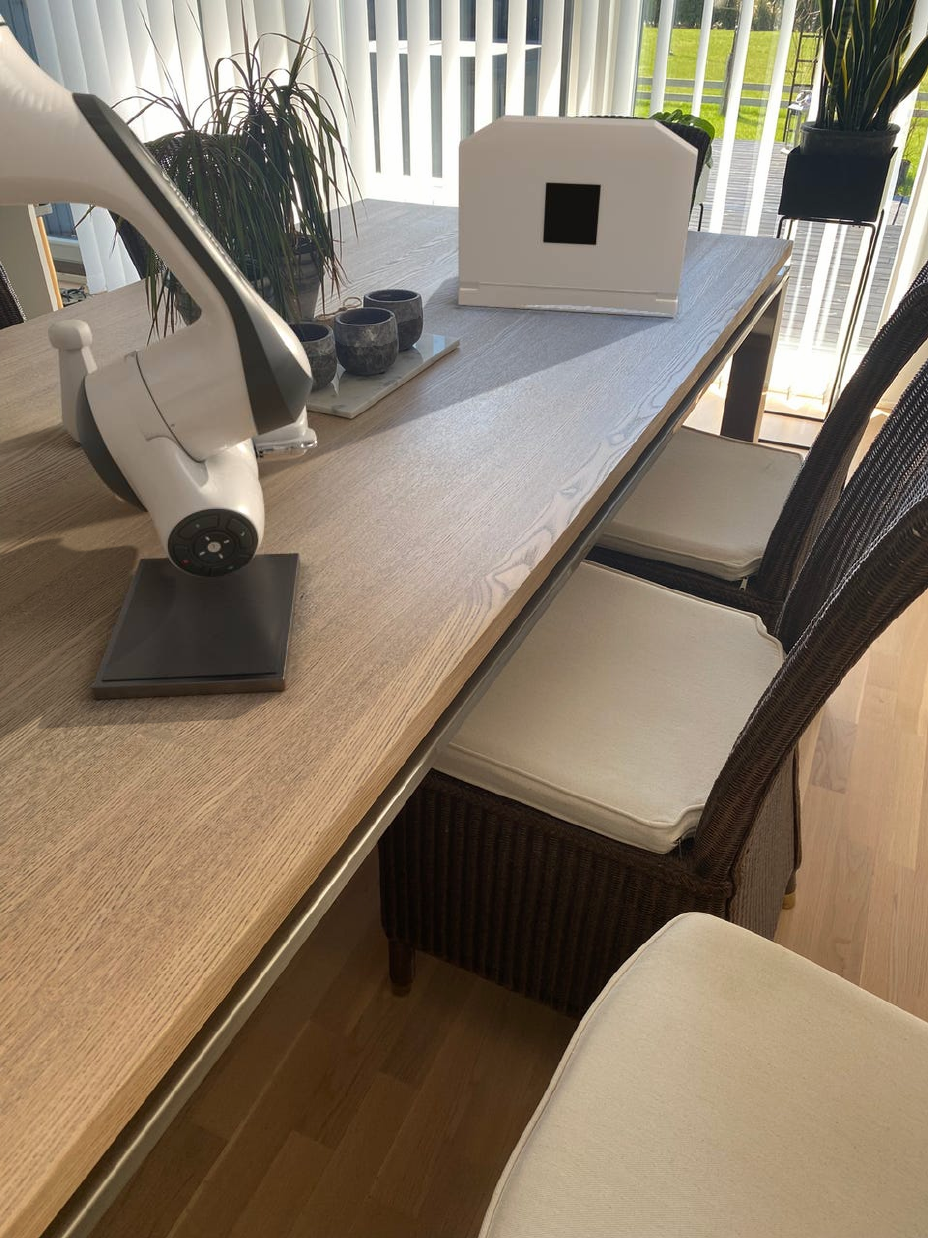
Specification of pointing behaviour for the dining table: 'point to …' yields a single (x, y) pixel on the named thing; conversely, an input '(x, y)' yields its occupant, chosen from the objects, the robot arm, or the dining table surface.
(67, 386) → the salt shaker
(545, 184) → the white chamfered box
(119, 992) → the dining table surface
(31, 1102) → the dining table surface
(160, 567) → the tablet
